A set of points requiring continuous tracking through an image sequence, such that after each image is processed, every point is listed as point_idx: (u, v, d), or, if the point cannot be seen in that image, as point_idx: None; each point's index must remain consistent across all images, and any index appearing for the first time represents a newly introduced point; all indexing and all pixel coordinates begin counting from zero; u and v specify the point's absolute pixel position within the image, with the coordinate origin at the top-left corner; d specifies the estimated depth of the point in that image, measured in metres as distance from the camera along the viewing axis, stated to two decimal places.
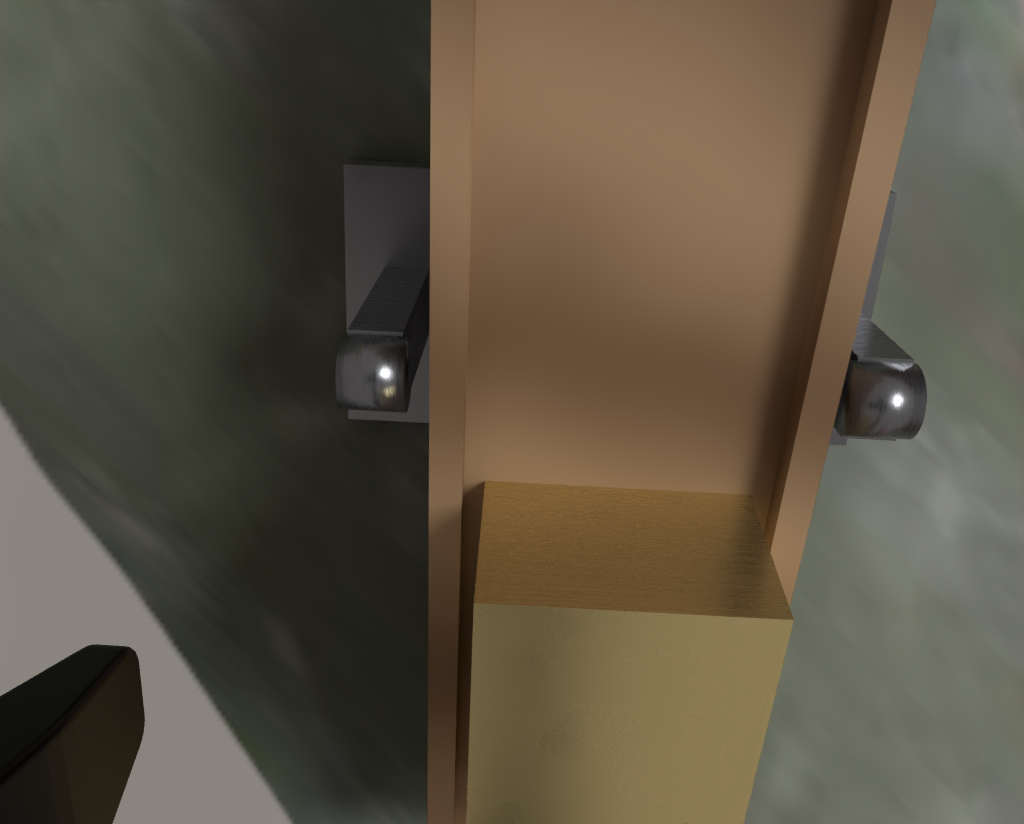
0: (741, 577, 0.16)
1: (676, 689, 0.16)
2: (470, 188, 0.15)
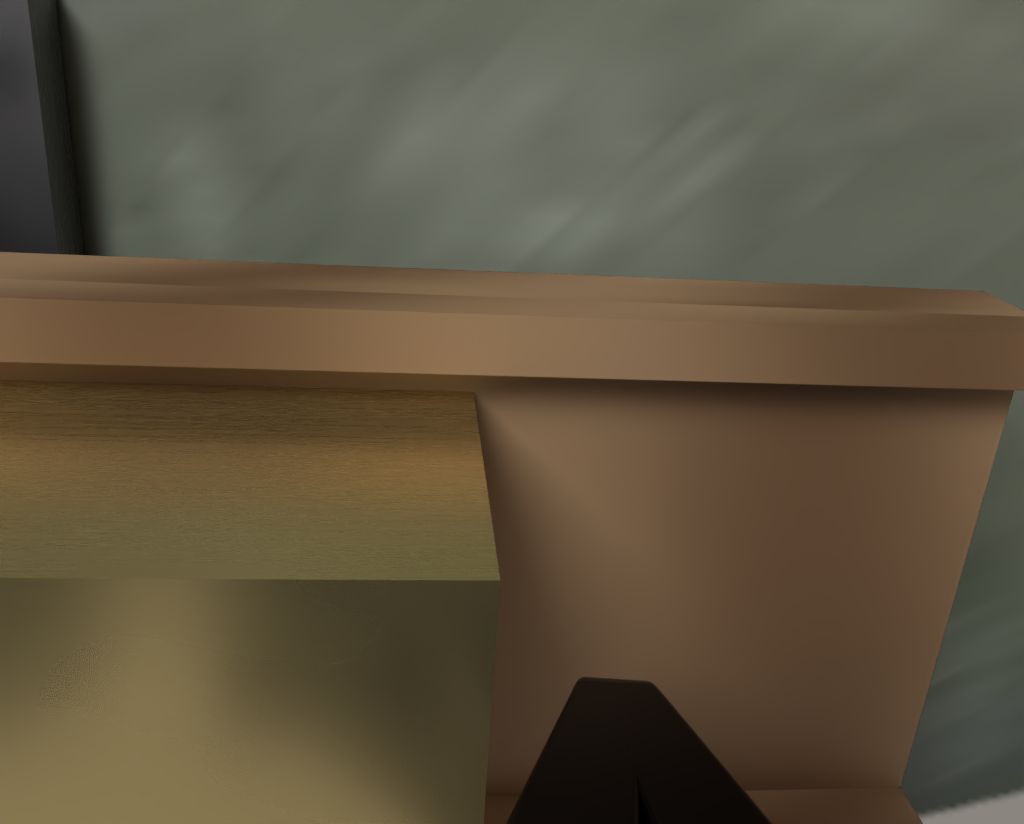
0: None
1: None
2: None
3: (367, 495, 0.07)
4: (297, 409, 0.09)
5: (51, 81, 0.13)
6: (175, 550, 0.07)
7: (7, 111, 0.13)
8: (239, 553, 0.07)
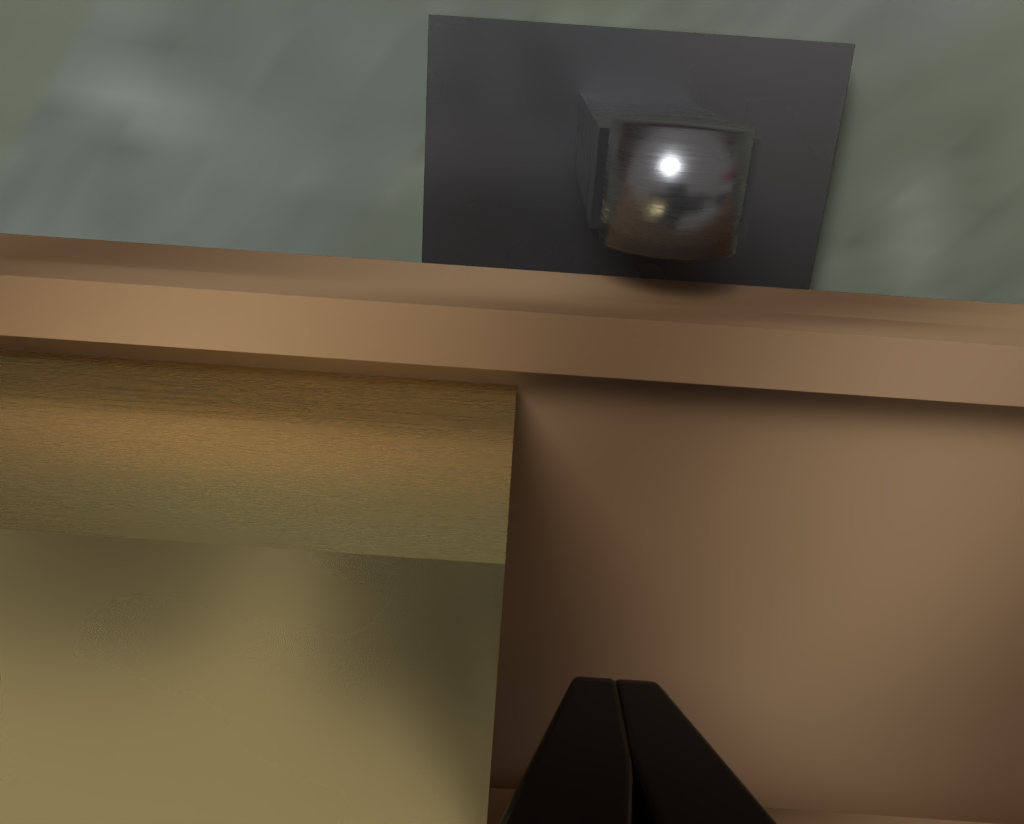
0: None
1: None
2: None
3: (391, 477, 0.08)
4: (342, 394, 0.09)
5: (830, 128, 0.14)
6: (201, 517, 0.07)
7: (802, 156, 0.14)
8: (262, 522, 0.07)
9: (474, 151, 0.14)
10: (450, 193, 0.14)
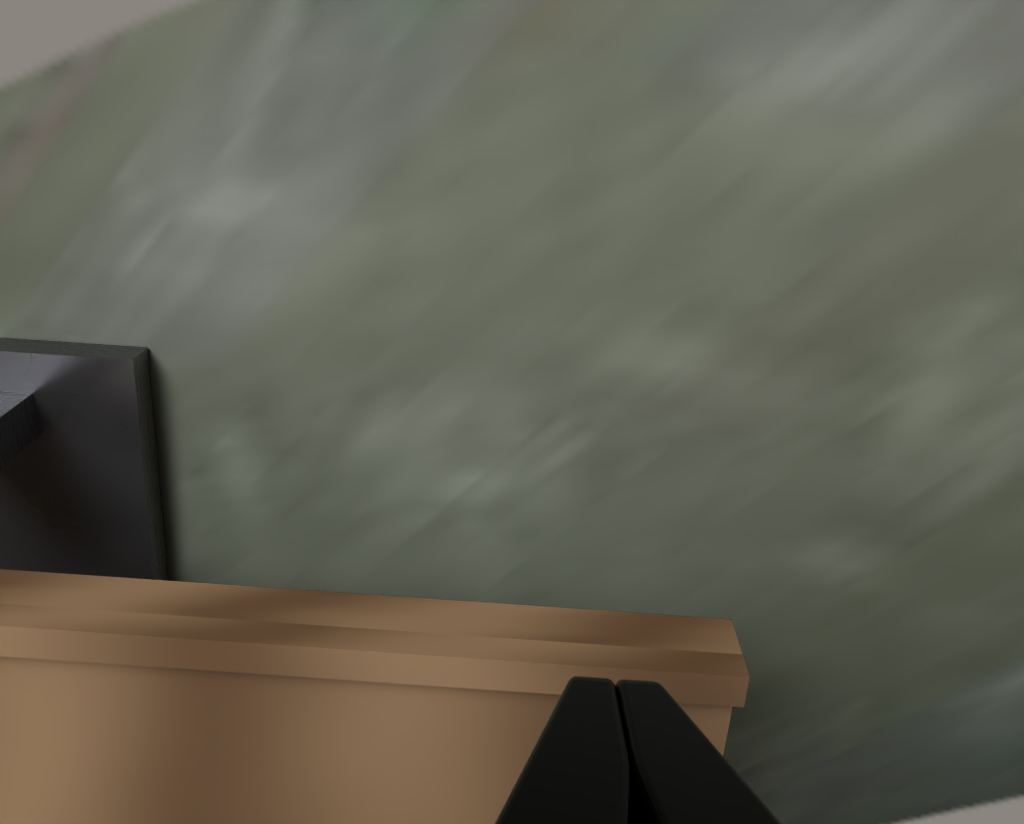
0: None
1: None
2: None
3: None
4: None
5: (144, 405, 0.21)
6: None
7: (118, 427, 0.20)
8: None
9: None
10: None
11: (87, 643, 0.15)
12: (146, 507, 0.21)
